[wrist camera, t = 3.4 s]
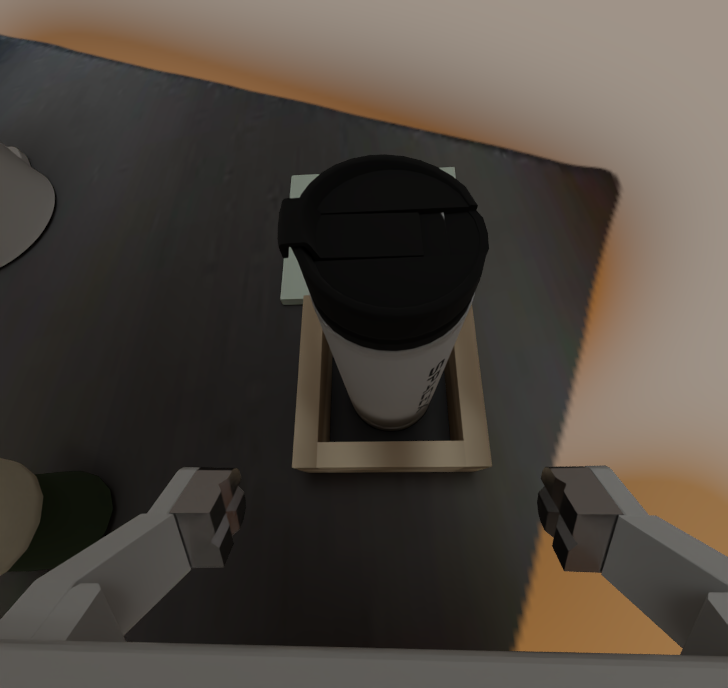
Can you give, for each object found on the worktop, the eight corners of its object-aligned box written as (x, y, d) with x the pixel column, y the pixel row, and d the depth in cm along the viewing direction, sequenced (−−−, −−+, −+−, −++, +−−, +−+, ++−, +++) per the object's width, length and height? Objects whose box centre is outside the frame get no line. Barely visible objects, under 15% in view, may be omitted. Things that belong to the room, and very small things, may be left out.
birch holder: (308, 472, 28) (291, 467, 23) (316, 324, 32) (303, 295, 27) (474, 471, 27) (492, 466, 22) (458, 320, 31) (470, 289, 27)
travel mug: (345, 356, 31) (279, 145, 12) (426, 352, 30) (483, 128, 12) (346, 433, 28) (267, 315, 10) (434, 430, 28) (520, 300, 10)
